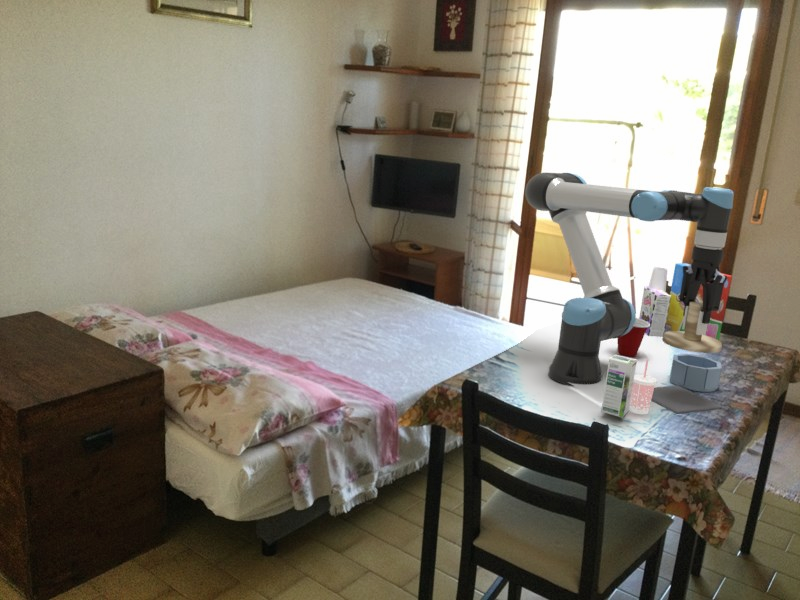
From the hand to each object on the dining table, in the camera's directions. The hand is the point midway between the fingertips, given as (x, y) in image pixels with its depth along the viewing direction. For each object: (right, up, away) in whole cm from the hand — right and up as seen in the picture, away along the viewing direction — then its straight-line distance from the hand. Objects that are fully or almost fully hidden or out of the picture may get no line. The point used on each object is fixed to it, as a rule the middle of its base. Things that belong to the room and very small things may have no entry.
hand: (693, 331), depth 184 cm
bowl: (+6, -16, +15) cm, 23 cm away
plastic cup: (-5, -10, +39) cm, 40 cm away
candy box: (+13, -4, +67) cm, 68 cm away
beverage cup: (-18, -20, -9) cm, 29 cm away
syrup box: (-25, -20, -11) cm, 34 cm away
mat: (-4, -19, +1) cm, 19 cm away
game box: (+24, -7, +58) cm, 63 cm away
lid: (0, -4, +1) cm, 4 cm away
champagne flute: (+14, -3, +71) cm, 72 cm away
